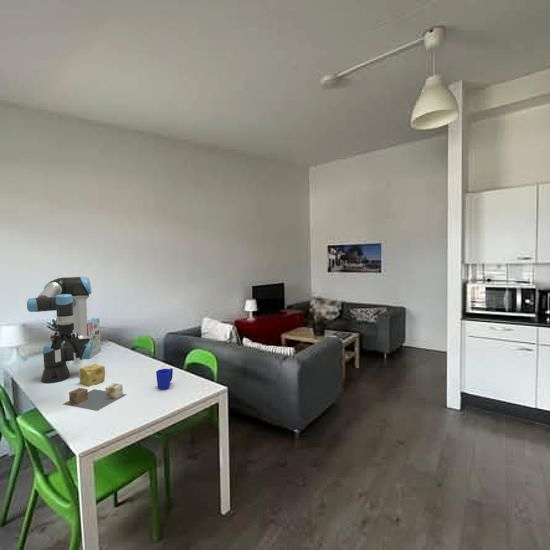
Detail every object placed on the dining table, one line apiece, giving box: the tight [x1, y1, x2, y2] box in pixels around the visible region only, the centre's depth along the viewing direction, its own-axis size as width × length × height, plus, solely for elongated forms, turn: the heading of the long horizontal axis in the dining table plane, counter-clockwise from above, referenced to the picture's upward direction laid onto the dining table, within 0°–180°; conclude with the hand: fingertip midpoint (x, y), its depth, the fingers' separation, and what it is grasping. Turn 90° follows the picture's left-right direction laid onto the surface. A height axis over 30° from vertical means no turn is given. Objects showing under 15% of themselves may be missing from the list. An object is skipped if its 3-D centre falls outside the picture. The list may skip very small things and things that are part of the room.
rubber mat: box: [62, 388, 128, 412], centre depth 177 cm, size 24×20×1 cm
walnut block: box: [68, 387, 89, 405], centre depth 174 cm, size 6×6×6 cm
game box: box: [87, 317, 102, 360], centre depth 256 cm, size 21×6×27 cm, turn 6°
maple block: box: [104, 382, 124, 399], centre depth 180 cm, size 6×6×6 cm
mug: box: [155, 367, 174, 390], centre depth 194 cm, size 8×12×10 cm
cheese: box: [79, 363, 106, 387], centre depth 201 cm, size 10×11×10 cm
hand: (67, 362), depth 176 cm, fingers open, 13 cm apart
